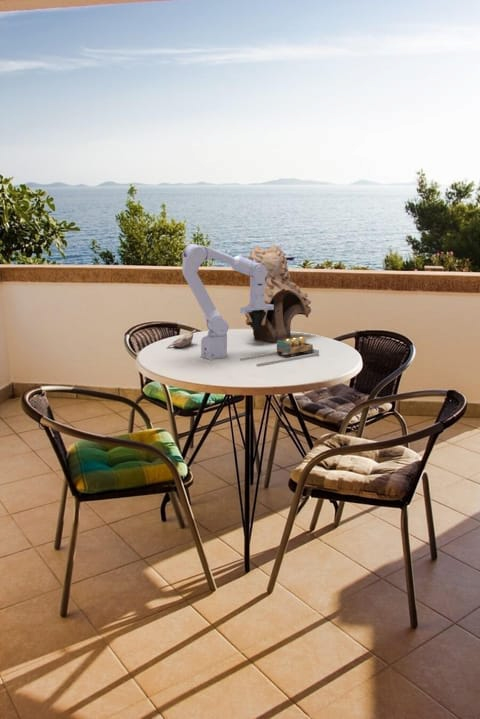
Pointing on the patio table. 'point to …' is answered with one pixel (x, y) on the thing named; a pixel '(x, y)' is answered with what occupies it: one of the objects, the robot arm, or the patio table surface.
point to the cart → (286, 348)
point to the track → (314, 353)
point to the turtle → (183, 340)
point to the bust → (278, 296)
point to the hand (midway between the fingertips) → (257, 329)
